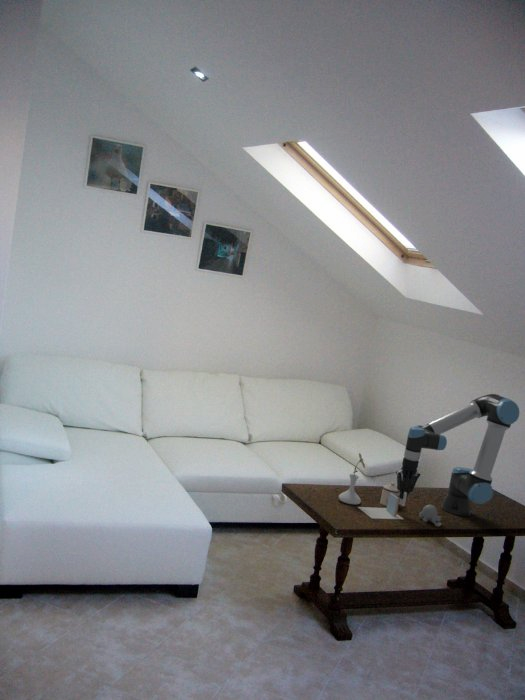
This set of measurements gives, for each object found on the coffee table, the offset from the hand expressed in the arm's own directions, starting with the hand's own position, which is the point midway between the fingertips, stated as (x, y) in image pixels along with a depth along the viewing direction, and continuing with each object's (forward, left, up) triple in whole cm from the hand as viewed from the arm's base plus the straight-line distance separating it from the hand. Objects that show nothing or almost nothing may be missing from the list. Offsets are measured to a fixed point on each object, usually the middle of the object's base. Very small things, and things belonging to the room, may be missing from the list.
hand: (401, 504), depth 337 cm
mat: (+11, 0, -5) cm, 12 cm away
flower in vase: (+20, -15, -5) cm, 26 cm away
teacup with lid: (-3, -13, -5) cm, 14 cm away
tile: (+5, 0, -5) cm, 7 cm away
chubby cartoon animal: (-11, +10, -5) cm, 16 cm away
